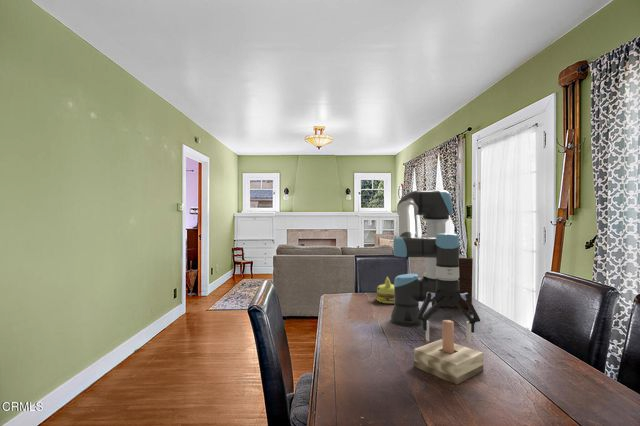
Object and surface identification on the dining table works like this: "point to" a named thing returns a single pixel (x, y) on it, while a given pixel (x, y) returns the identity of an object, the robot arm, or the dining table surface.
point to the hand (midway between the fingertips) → (448, 341)
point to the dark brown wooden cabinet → (463, 283)
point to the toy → (385, 292)
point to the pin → (448, 336)
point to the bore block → (448, 361)
